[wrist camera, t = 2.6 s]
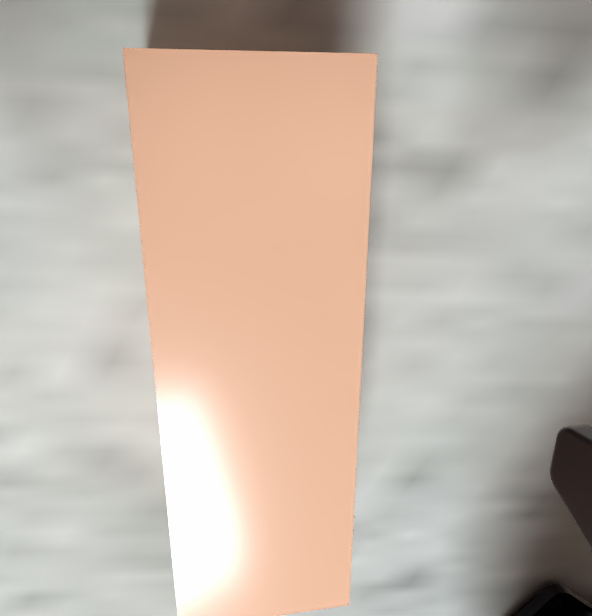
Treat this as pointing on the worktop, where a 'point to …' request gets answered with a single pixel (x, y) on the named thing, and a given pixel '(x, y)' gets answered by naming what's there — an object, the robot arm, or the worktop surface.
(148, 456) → the worktop surface
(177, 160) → the peach long block
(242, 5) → the worktop surface
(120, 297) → the worktop surface
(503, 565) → the worktop surface
